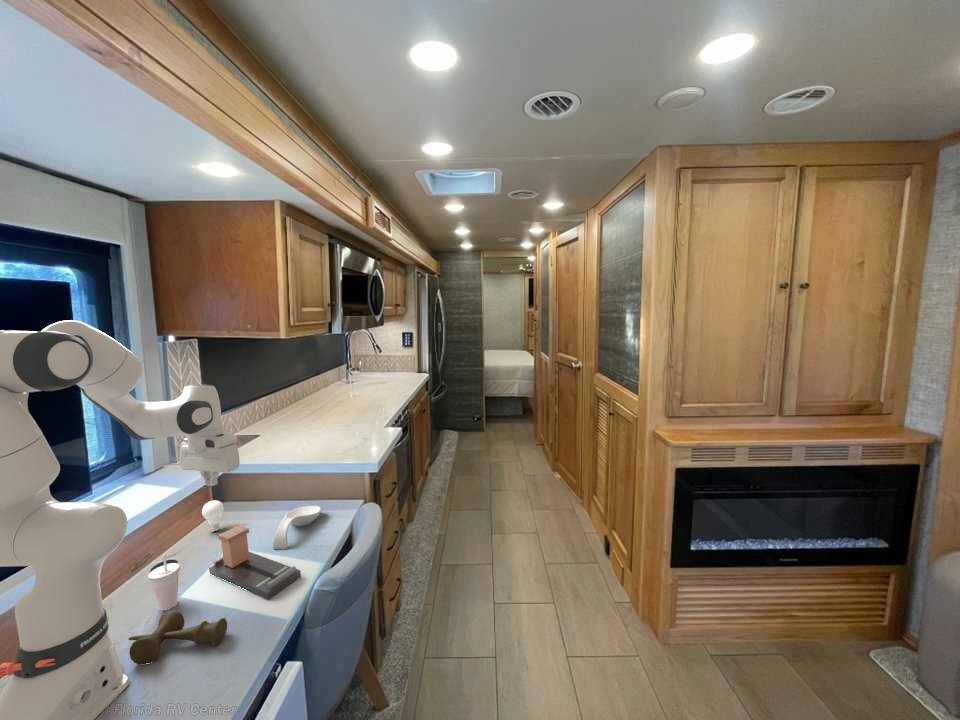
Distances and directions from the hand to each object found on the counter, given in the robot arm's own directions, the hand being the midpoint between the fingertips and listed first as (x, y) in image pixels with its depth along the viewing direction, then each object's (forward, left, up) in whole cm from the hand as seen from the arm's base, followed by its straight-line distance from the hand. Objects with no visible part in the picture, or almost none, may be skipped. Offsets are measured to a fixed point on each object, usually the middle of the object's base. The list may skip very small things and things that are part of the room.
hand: (211, 484), depth 116 cm
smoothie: (-17, +5, -25) cm, 30 cm away
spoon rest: (+16, -17, -26) cm, 35 cm away
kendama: (-31, -6, -25) cm, 41 cm away
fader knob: (-4, -6, -23) cm, 24 cm away
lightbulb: (+21, +12, -25) cm, 35 cm away
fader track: (-8, -13, -25) cm, 29 cm away
